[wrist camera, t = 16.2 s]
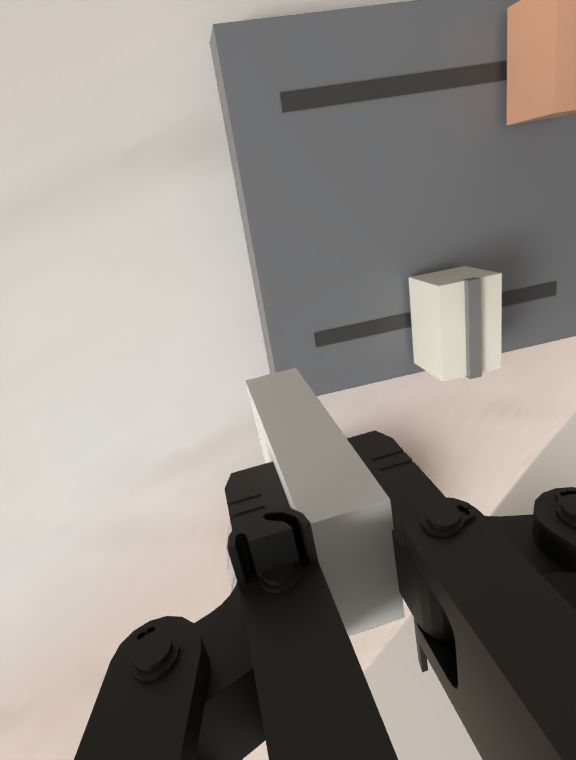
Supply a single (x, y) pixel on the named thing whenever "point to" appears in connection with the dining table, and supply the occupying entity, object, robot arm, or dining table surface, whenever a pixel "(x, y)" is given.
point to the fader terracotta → (541, 60)
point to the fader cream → (456, 322)
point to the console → (390, 180)
